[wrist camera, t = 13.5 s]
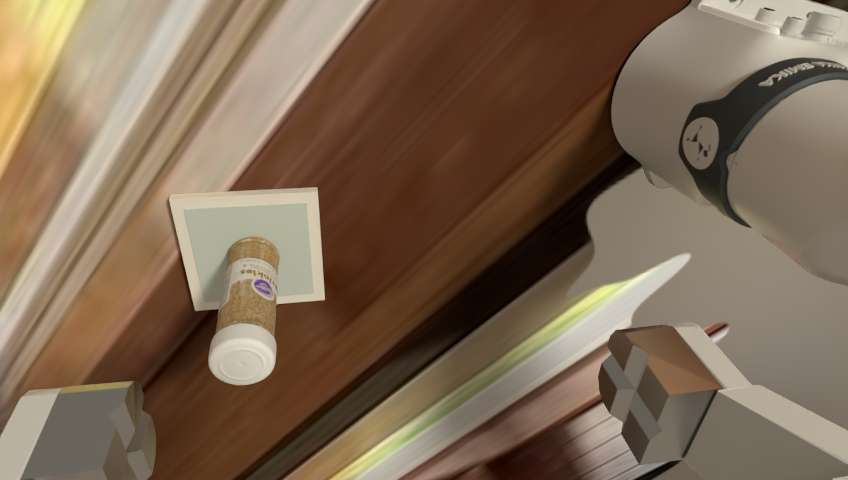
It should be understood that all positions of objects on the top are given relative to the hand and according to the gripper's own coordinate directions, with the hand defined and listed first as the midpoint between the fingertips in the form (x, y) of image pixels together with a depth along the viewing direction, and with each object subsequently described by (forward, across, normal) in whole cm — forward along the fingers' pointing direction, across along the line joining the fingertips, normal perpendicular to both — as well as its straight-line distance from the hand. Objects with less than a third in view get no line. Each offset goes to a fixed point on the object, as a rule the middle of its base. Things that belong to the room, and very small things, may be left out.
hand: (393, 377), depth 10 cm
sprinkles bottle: (+36, +7, +22) cm, 43 cm away
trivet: (+37, +7, +22) cm, 44 cm away
